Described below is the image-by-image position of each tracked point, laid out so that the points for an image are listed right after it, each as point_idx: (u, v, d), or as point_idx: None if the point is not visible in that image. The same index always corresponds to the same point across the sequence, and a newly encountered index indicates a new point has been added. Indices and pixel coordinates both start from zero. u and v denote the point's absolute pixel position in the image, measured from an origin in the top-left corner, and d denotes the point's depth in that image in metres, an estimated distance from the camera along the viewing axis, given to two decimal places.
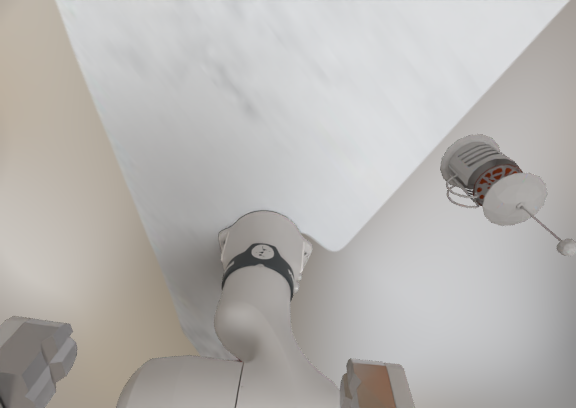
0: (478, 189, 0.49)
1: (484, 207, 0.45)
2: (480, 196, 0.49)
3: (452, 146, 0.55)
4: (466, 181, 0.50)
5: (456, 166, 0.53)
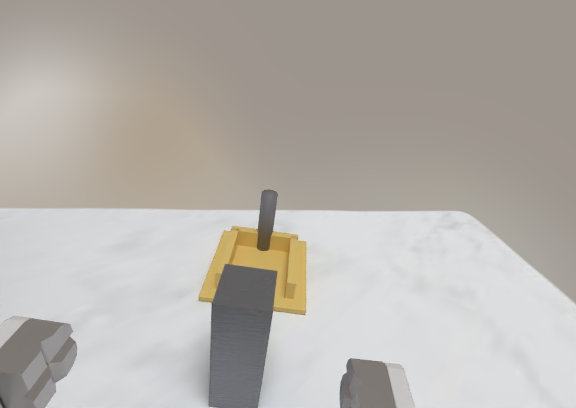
0: None
1: None
2: None
3: None
4: None
5: None
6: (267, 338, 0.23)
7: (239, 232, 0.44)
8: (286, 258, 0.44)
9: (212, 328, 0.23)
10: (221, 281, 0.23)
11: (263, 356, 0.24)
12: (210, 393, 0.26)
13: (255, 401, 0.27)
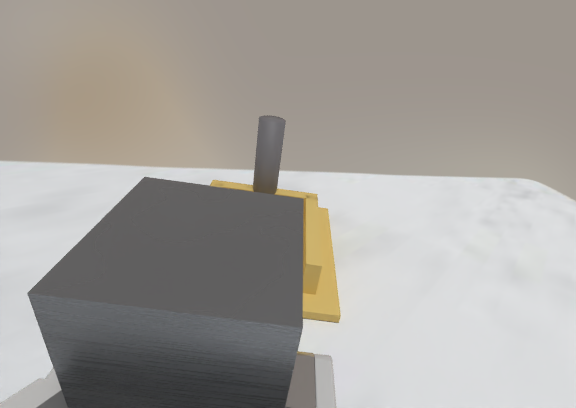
0: None
1: None
2: None
3: None
4: None
5: None
6: None
7: None
8: None
9: (66, 389, 0.06)
10: (112, 217, 0.07)
11: None
12: None
13: None
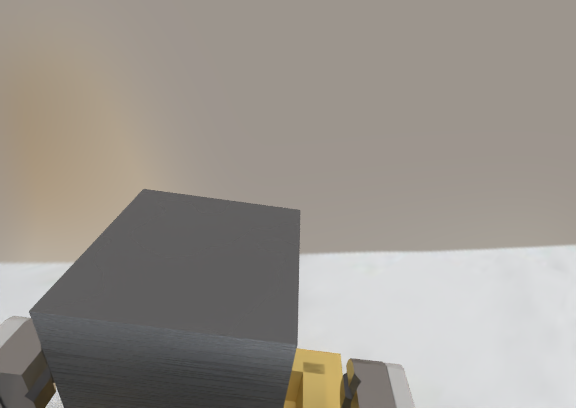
0: None
1: None
2: None
3: None
4: None
5: None
6: None
7: None
8: None
9: (67, 402, 0.06)
10: (112, 231, 0.07)
11: None
12: None
13: None
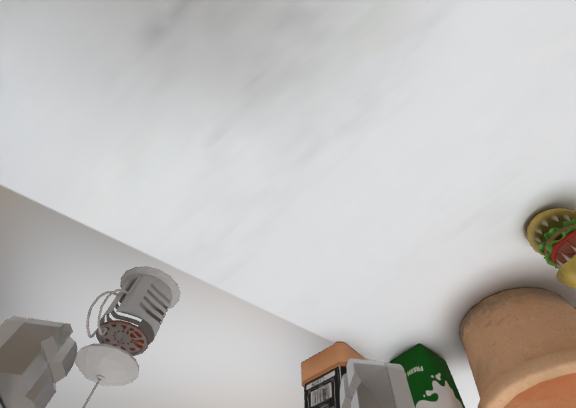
0: (114, 324, 0.45)
1: (89, 348, 0.40)
2: (106, 327, 0.45)
3: (162, 273, 0.52)
4: (121, 309, 0.46)
5: (139, 288, 0.49)
6: None
7: None
8: None
9: None
10: None
11: None
12: None
13: None
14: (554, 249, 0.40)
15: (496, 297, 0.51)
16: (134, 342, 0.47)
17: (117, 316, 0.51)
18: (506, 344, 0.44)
